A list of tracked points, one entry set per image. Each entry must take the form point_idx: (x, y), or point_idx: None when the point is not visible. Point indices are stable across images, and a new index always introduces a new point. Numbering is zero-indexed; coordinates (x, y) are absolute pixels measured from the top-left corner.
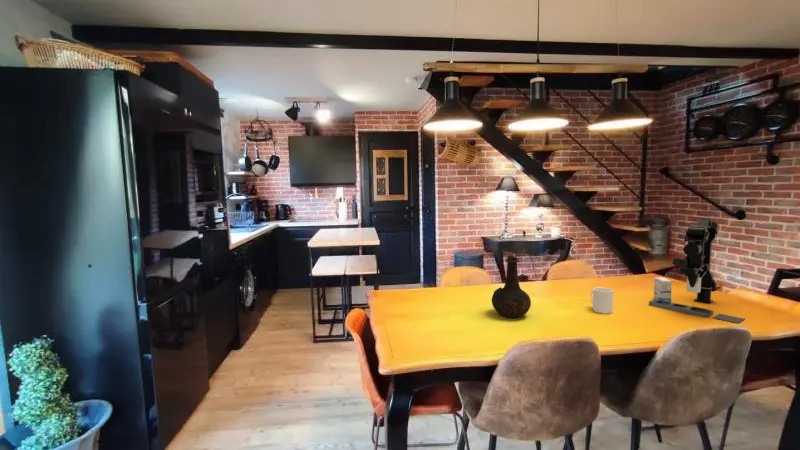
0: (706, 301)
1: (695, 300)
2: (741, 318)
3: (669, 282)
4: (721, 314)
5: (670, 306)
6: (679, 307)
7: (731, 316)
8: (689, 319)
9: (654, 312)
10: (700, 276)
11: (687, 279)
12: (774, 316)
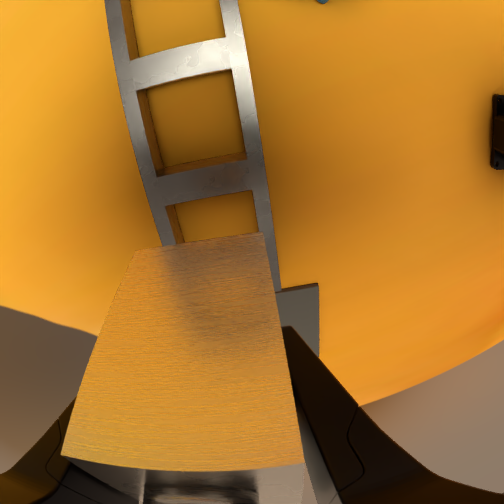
0: (502, 154)
1: (494, 103)
2: None
3: None
4: (309, 297)
5: (122, 94)
6: (144, 150)
7: (310, 328)
8: (74, 259)
9: (9, 104)
10: (319, 501)
11: (80, 406)
12: (434, 356)
